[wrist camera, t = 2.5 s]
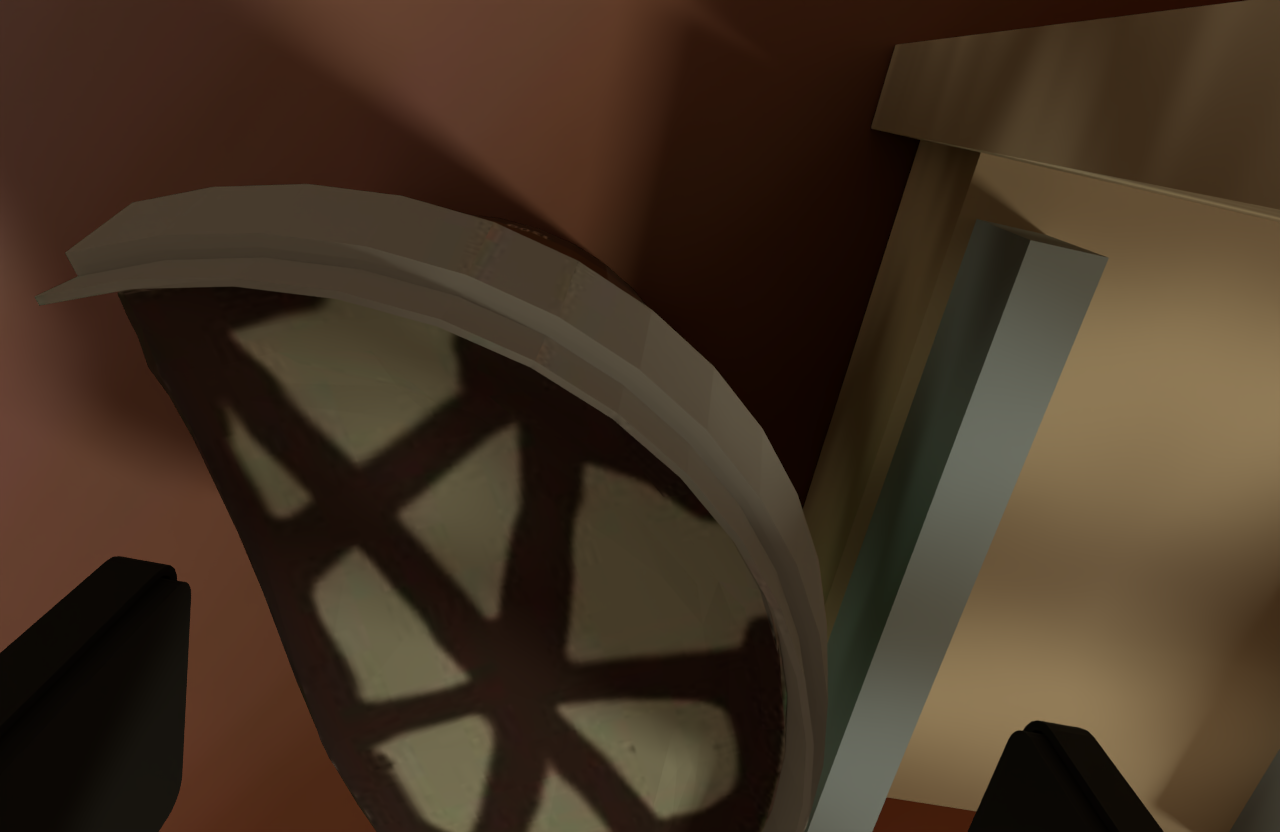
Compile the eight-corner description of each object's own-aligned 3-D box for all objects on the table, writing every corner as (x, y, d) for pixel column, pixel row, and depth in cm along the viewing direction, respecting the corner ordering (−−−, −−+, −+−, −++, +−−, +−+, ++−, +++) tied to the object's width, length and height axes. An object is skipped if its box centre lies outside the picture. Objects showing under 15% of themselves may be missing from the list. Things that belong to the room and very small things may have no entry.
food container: (795, 605, 20) (941, 1050, 11) (544, 664, 21) (482, 1138, 12) (666, 57, 16) (729, 25, 7) (352, 146, 16) (-2, 237, 7)
